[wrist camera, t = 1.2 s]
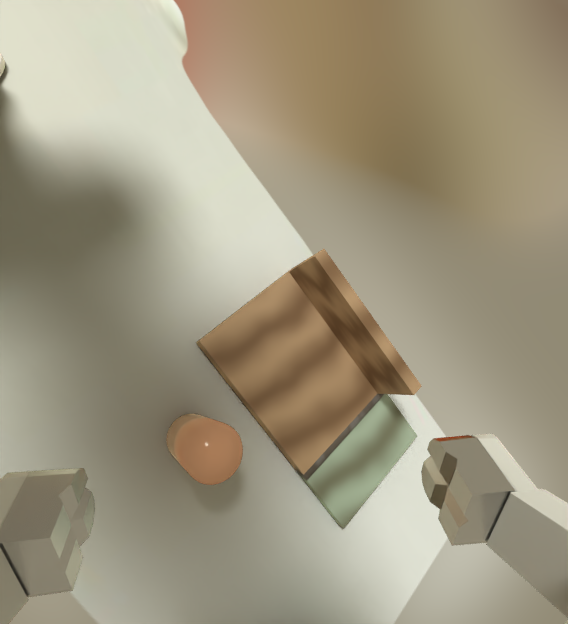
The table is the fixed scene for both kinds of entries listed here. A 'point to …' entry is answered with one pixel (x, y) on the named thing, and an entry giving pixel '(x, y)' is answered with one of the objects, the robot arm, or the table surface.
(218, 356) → the brown wooden l-shaped board
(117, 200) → the table surface
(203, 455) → the peach cylinder
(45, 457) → the table surface
